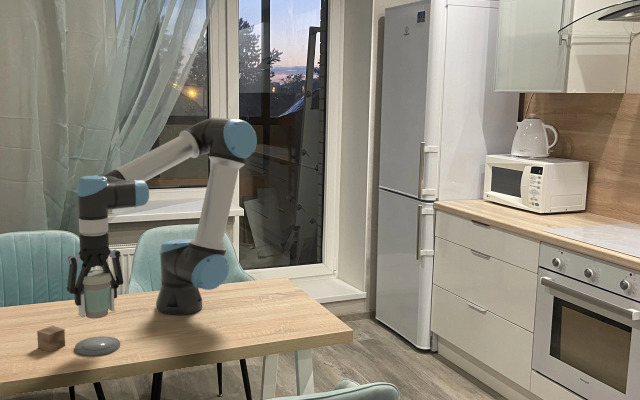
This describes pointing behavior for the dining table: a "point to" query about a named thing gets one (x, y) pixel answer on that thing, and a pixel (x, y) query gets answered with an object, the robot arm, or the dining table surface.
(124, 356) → the dining table surface
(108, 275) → the coffee cup
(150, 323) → the dining table surface
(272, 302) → the dining table surface
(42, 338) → the walnut block
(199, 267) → the robot arm
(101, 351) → the saucer
